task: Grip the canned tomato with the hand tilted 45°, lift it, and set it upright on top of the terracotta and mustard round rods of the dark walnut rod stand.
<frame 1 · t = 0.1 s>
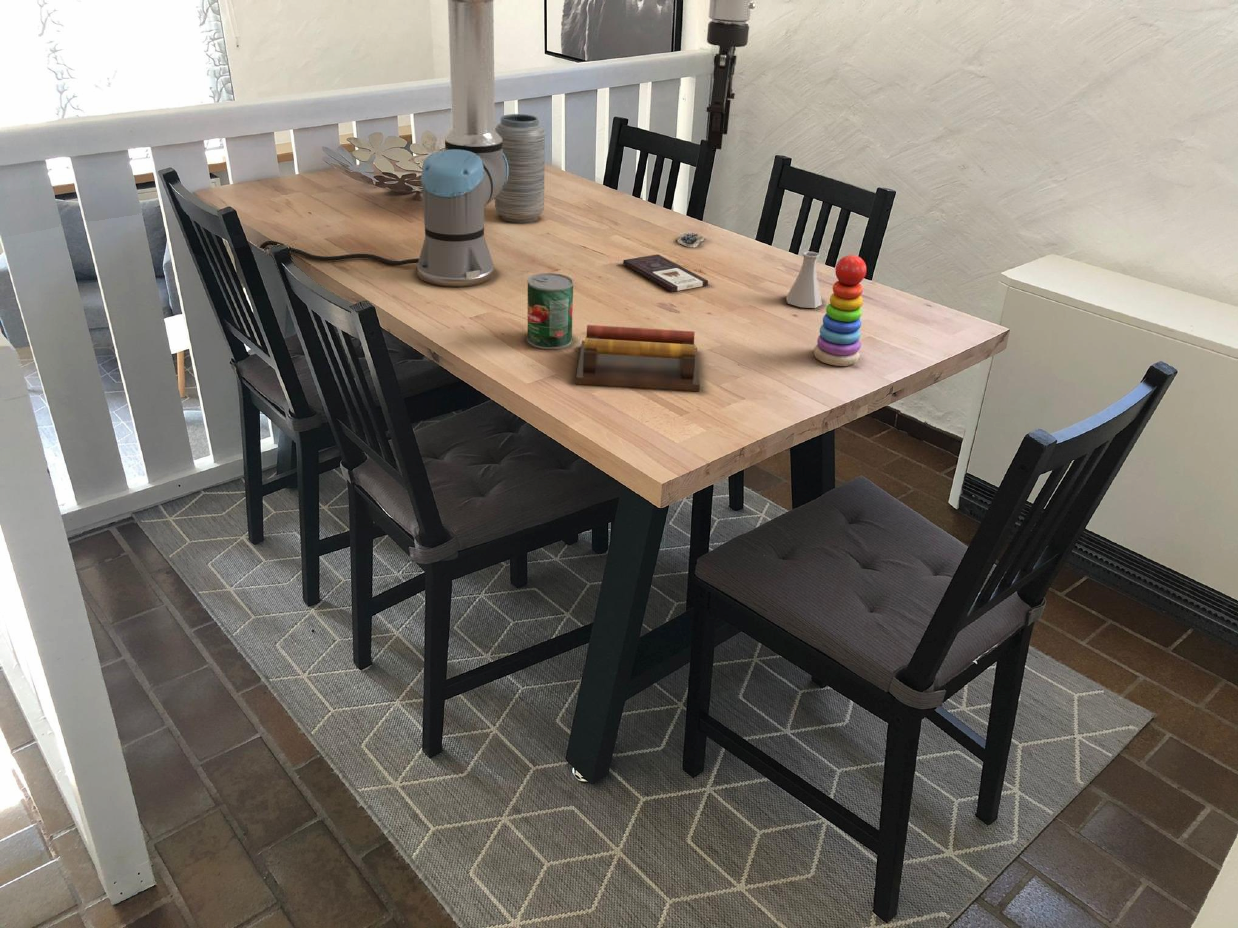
hand: (717, 141, 191), 28 cm above the table, tool pointing down, fingers open, 13 cm apart
rod stand: (638, 368, 165), on the table
canned tomato: (549, 341, 174), on the table
blueberries: (691, 243, 226), on the table
chocolate bar: (664, 275, 206), on the table
stacking toy: (835, 359, 173), on the table
flask: (803, 303, 196), on the table
vase: (519, 218, 235), on the table
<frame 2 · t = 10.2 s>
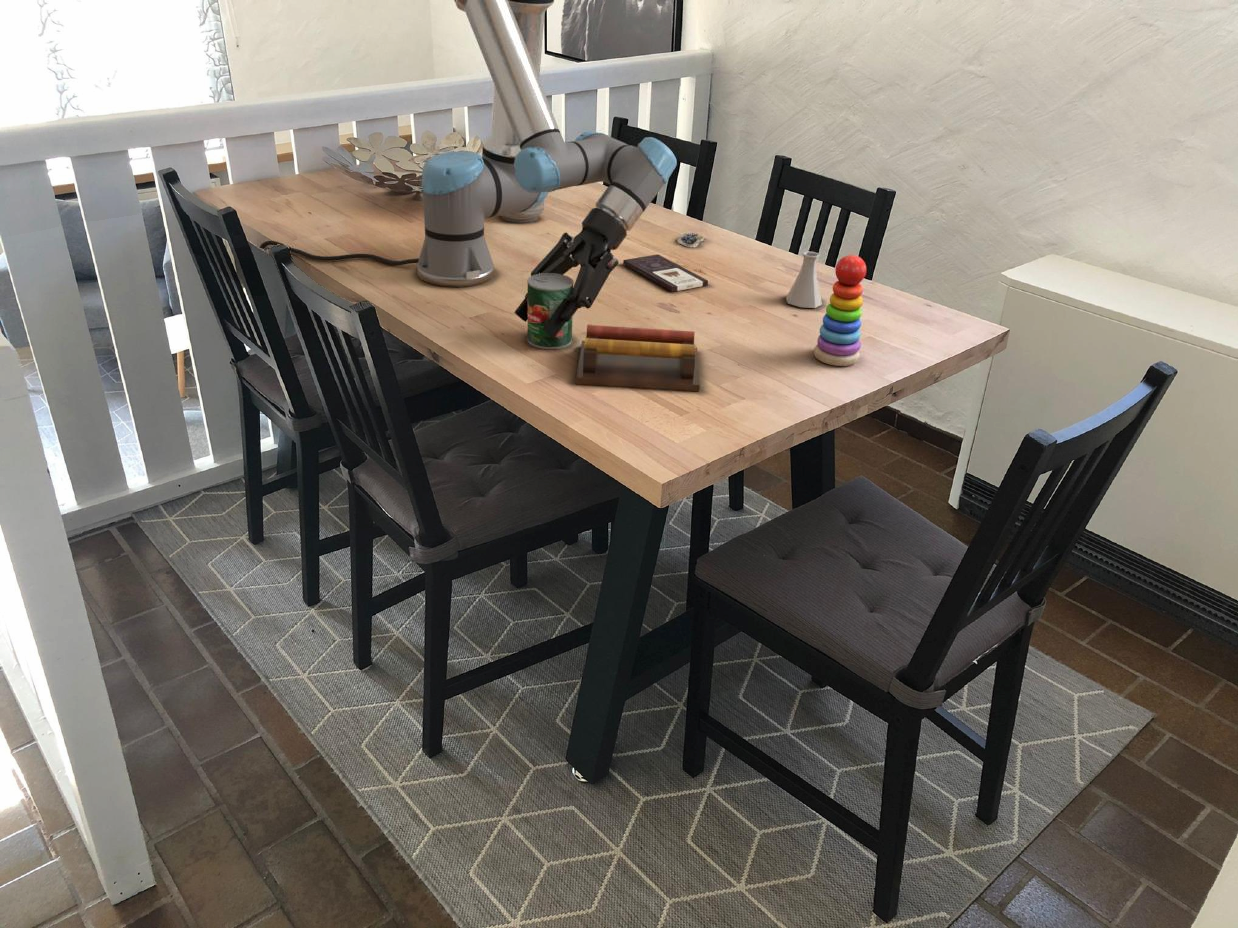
hand: (533, 325, 170), 4 cm above the table, tool tilted 45°, fingers closed on canned tomato, 8 cm apart
canned tomato: (549, 341, 174), on the table, touching gripper
everything else where it was.
when the fingers open (10 cm above the table, at t = 17.4 s): canned tomato stays where it is, resting on rod stand.
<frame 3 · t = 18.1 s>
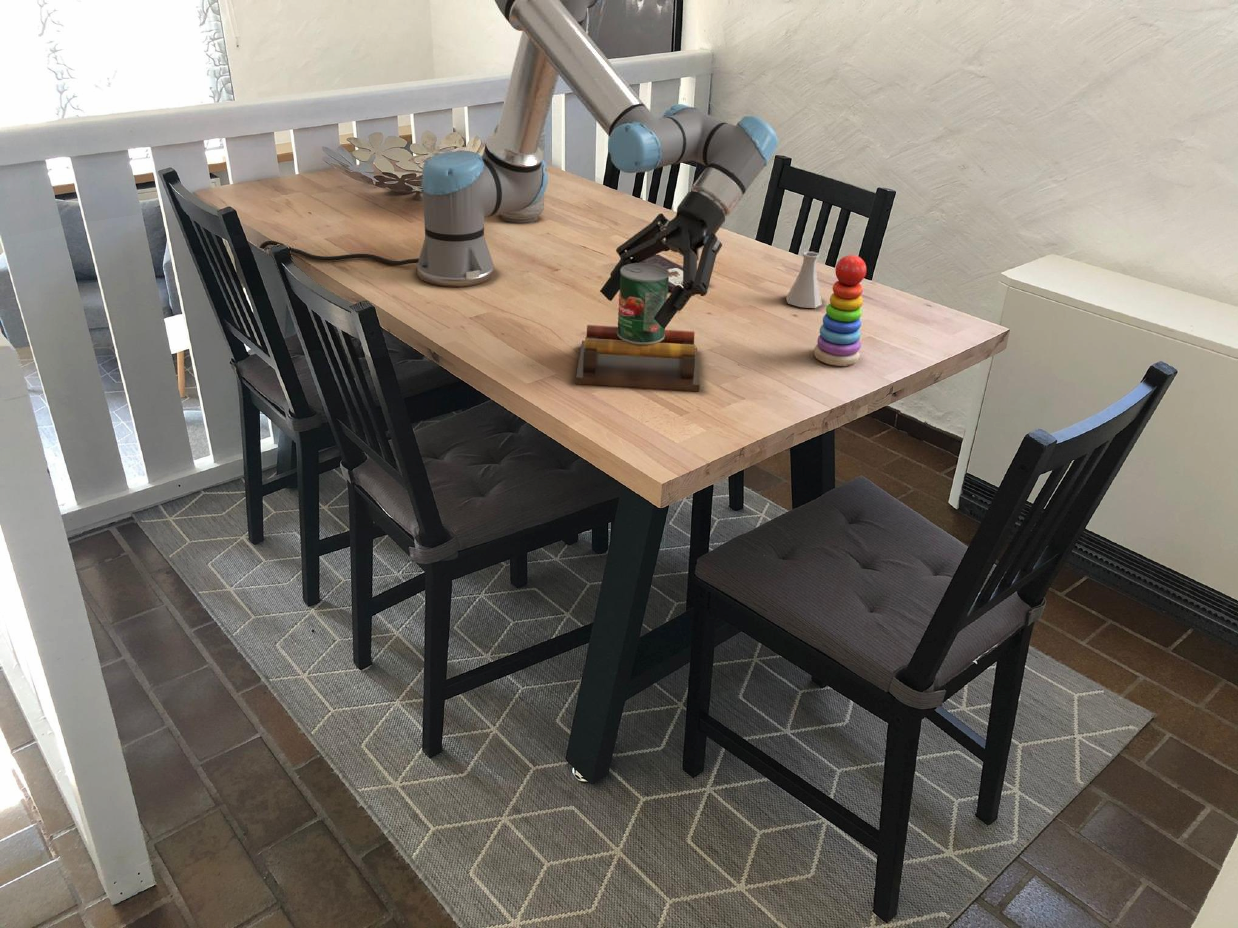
hand: (631, 309, 159), 11 cm above the table, tool tilted 45°, fingers open, 13 cm apart
canned tomato: (640, 336, 162), point 6 cm above the table, touching rod stand
everything else where it was.
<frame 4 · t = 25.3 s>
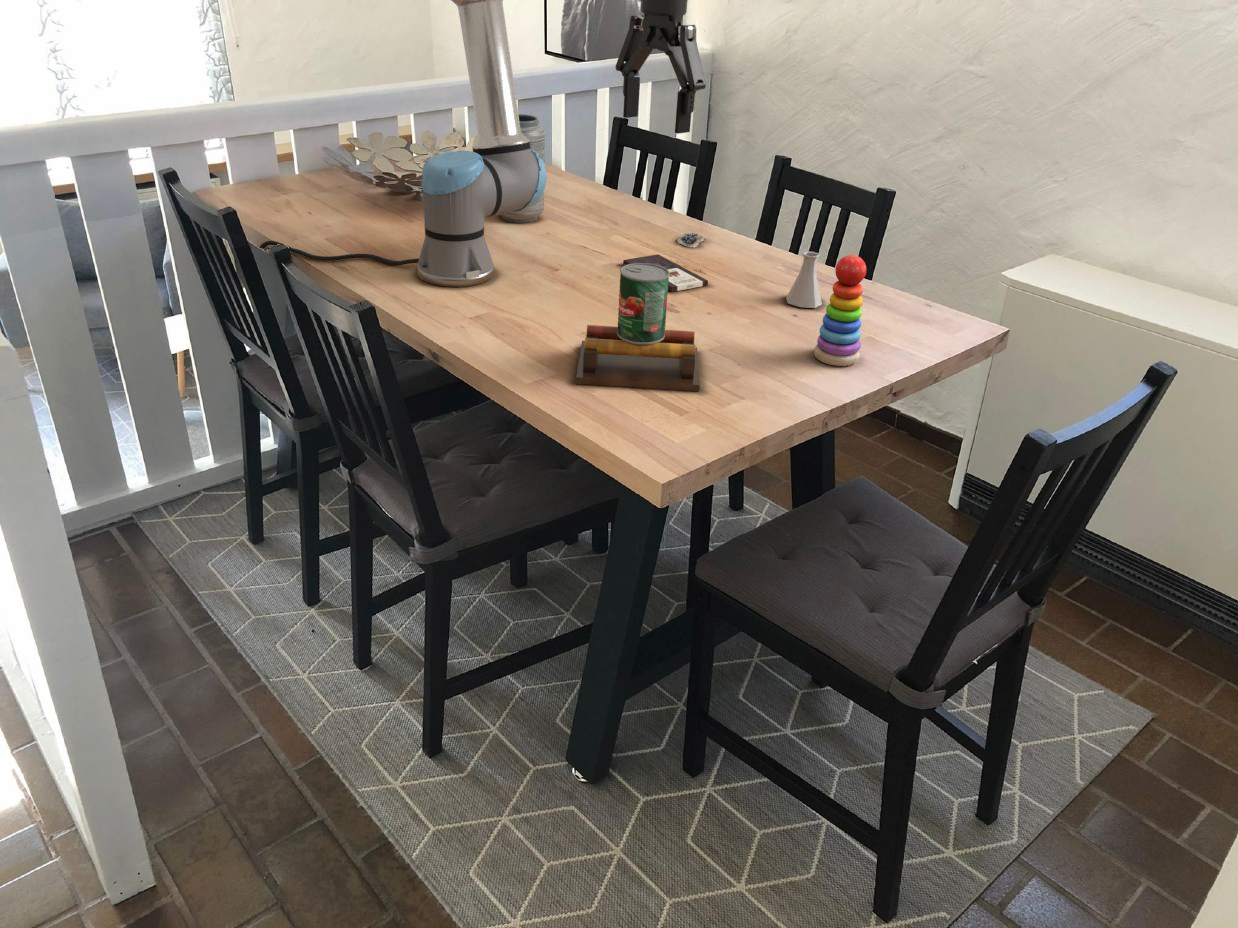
hand: (655, 124, 169), 35 cm above the table, tool pointing down, fingers open, 13 cm apart
nothing on the table moved.
at the end: canned tomato inside the target area on the rod stand (0.0 cm from its centre), point 5.8 cm above the rod stand's base; canned tomato tilted 0°; canned tomato touching rod stand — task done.
